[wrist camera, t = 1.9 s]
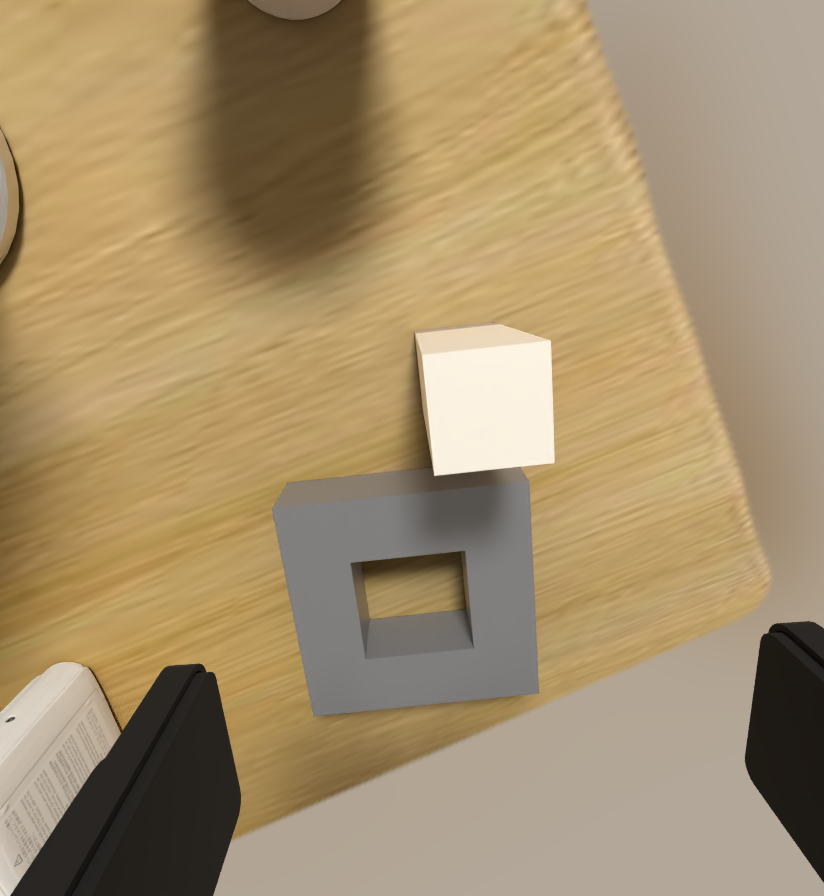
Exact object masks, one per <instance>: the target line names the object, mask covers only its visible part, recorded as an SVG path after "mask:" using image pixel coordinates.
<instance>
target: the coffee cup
mask: <svg viewBox="0 0 824 896" xmlns="http://www.w3.org/2000/svg"><path fill="white" fill-rule="evenodd" d="M248 1H249V2H250V3H252V4H253V5H254V6H256V7H257V8H259V9H260V10H262V11H264V12H266V13H269V14H271V15H273V16H276V17H279V18H284V19H290V20H303V19H308V18H312V17H316V16H319V15H321V14H323V13H325V12H327V11H329V10H330V9H332V8H333V7H335V6H336V5H337V4H338V3H339V2H340V1H341V0H248Z"/></svg>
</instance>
